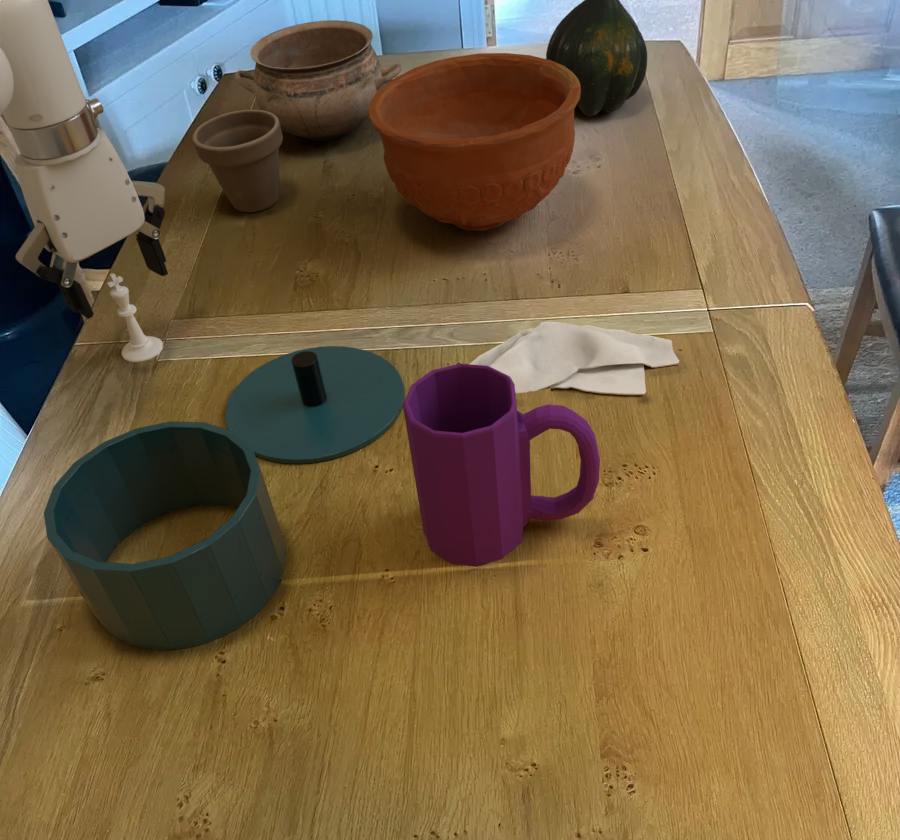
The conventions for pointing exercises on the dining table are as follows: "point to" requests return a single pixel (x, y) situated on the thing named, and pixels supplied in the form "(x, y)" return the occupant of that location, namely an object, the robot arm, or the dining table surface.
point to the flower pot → (243, 156)
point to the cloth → (579, 358)
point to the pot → (152, 495)
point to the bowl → (477, 135)
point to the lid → (315, 404)
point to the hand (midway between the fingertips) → (122, 292)
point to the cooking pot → (317, 77)
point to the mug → (485, 462)
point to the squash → (600, 53)
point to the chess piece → (133, 326)
